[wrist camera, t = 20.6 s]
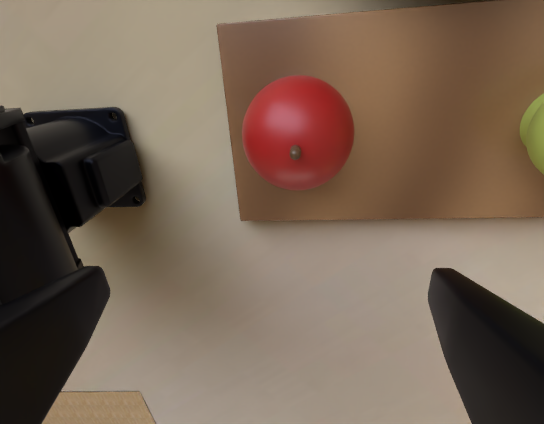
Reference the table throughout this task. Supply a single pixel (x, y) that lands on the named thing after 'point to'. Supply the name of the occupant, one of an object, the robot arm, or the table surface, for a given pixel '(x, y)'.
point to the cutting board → (402, 108)
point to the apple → (298, 132)
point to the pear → (534, 132)
